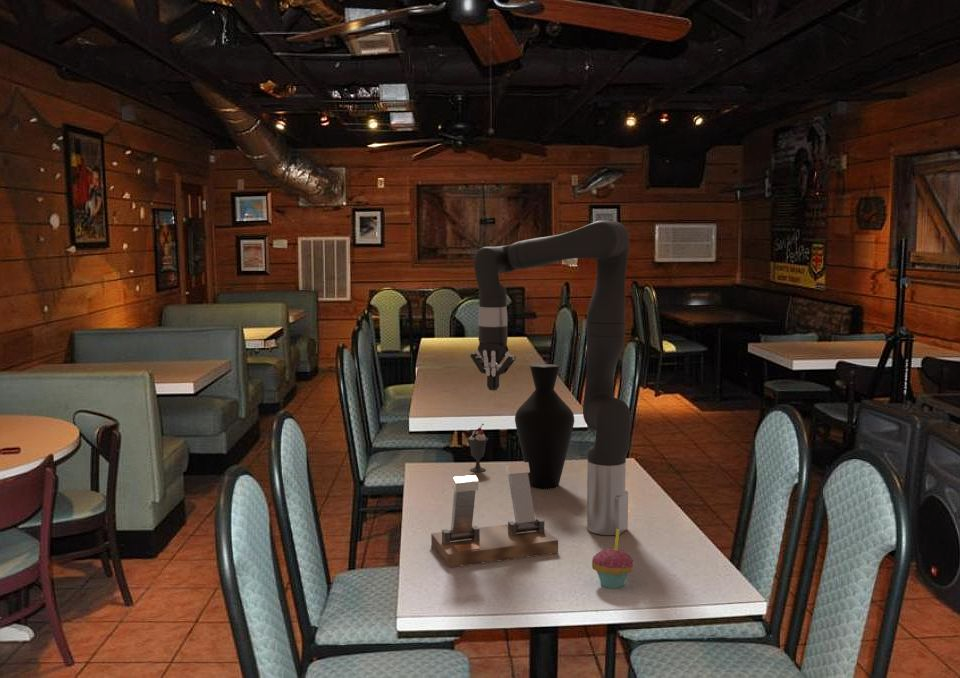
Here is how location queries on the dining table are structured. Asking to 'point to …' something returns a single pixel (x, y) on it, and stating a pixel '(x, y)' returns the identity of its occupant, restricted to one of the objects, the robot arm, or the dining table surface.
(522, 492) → the inner lever
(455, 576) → the dining table surface
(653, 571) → the dining table surface
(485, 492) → the dining table surface
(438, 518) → the dining table surface
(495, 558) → the switch base
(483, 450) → the sundae
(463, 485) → the outer lever
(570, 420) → the vase
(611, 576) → the cupcake
